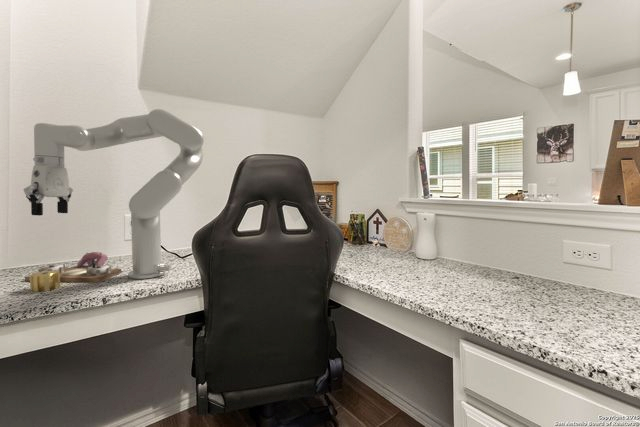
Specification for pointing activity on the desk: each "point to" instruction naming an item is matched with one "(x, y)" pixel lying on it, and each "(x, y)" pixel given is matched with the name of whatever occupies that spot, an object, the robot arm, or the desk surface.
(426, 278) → the desk surface
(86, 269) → the gear board
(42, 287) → the brass gear
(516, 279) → the desk surface
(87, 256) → the video game controller
